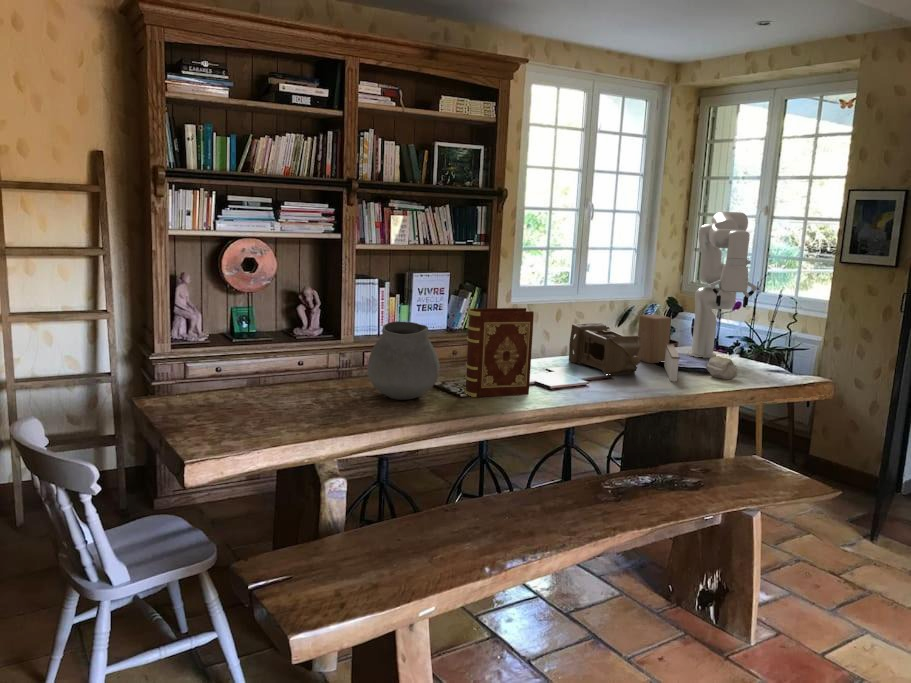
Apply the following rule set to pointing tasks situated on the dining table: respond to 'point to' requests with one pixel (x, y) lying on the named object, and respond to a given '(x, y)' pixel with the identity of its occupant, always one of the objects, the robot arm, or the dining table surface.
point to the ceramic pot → (403, 361)
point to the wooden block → (653, 337)
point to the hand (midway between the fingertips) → (731, 306)
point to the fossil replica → (722, 368)
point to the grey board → (671, 362)
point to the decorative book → (499, 351)
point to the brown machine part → (604, 348)
